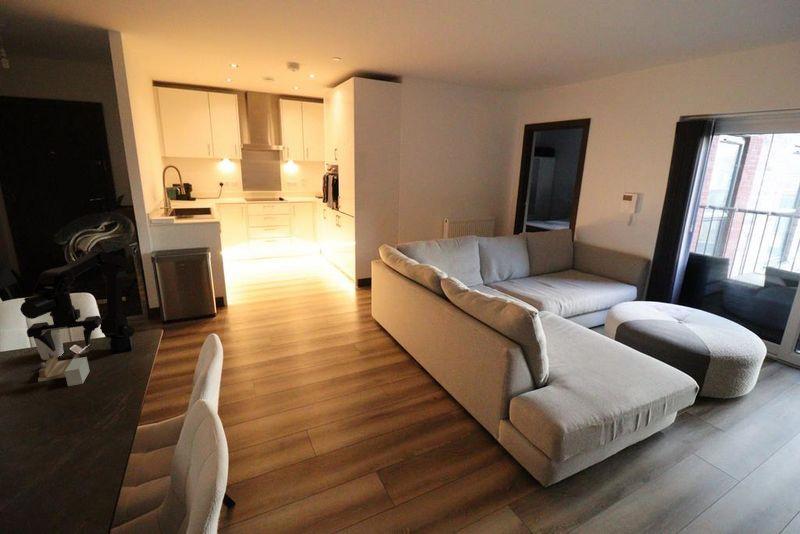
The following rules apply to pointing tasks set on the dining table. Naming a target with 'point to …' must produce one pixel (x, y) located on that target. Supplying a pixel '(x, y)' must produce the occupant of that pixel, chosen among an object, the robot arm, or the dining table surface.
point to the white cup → (45, 349)
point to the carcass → (54, 368)
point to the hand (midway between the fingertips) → (71, 348)
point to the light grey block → (77, 371)
